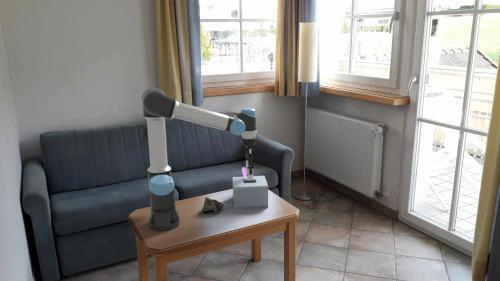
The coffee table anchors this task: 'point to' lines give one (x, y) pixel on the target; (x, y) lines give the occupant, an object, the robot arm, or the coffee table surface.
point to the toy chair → (244, 172)
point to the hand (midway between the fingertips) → (249, 175)
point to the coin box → (250, 192)
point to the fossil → (212, 205)
